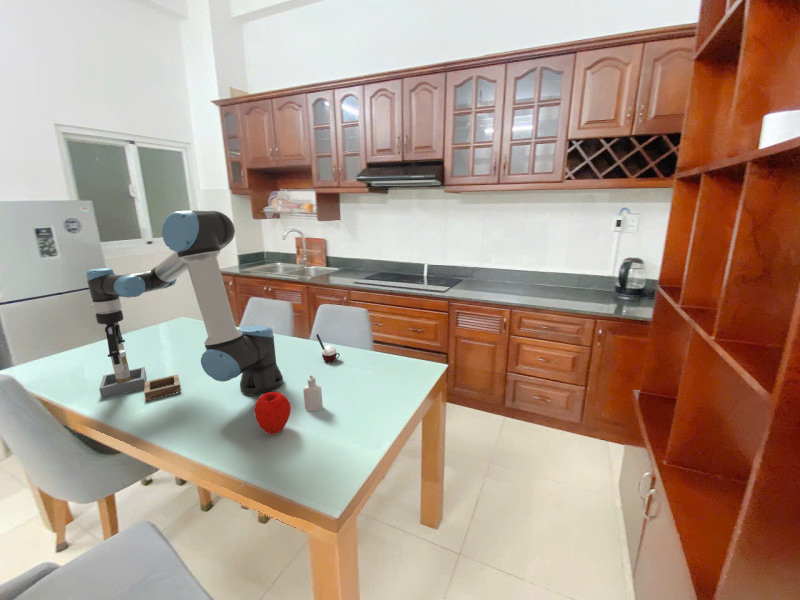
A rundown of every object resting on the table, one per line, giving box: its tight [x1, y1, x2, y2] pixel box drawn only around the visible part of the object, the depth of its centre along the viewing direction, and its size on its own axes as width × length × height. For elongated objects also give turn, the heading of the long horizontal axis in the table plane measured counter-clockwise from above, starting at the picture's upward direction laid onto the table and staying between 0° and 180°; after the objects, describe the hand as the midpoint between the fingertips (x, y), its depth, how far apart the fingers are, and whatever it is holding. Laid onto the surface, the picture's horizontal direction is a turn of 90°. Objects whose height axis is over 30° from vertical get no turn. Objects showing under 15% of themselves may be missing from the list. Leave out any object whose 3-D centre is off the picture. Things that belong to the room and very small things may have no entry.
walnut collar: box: [143, 374, 182, 401], centre depth 131 cm, size 11×11×3 cm
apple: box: [253, 391, 292, 435], centre depth 104 cm, size 10×10×12 cm
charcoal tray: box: [99, 366, 147, 399], centre depth 135 cm, size 13×13×4 cm
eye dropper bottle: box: [303, 374, 324, 412], centre depth 116 cm, size 4×6×12 cm
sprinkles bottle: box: [112, 349, 131, 384], centre depth 133 cm, size 5×5×13 cm
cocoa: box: [316, 333, 340, 363], centre depth 154 cm, size 10×6×12 cm, turn 64°
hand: (120, 365), depth 133 cm, fingers open, 13 cm apart
